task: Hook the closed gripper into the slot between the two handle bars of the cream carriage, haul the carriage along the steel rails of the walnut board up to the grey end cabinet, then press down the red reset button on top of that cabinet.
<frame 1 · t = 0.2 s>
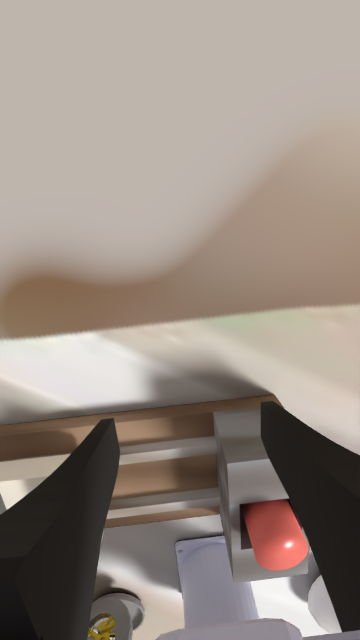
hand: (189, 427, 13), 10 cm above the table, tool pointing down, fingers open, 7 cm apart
reset button: (270, 521, 19), point 7 cm above the table, slide at 0.0 cm
carriage: (36, 526, 20), point 5 cm above the table, slide at 0.0 cm
flower in vase: (350, 573, 32), on the table
pocket watch: (116, 598, 31), on the table
rail board: (143, 462, 25), on the table
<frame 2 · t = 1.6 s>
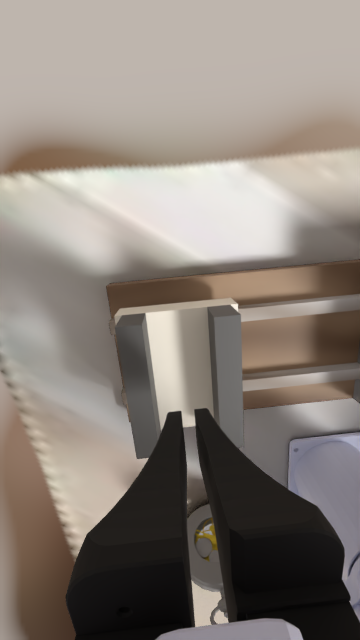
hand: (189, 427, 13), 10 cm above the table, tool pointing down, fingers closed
carriage: (182, 374, 18), point 5 cm above the table, slide at 0.0 cm
pocket watch: (213, 512, 29), on the table
rail board: (269, 337, 23), on the table
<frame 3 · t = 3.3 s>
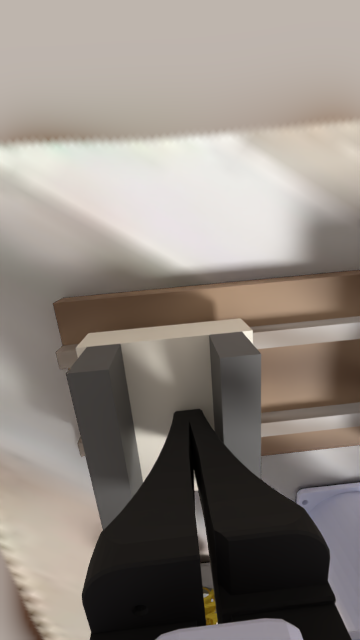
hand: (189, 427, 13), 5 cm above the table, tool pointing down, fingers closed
carriage: (174, 426, 13), point 5 cm above the table, slide at 1.0 cm, touching gripper
pocket watch: (203, 570, 23), on the table
rail board: (273, 365, 18), on the table
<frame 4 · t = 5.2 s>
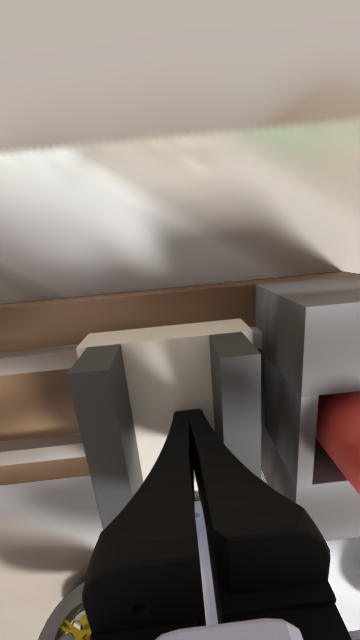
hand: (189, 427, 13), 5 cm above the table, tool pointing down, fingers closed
carriage: (174, 426, 13), point 5 cm above the table, slide at 9.8 cm, touching gripper
pocket watch: (107, 582, 23), on the table
rail board: (146, 379, 18), on the table
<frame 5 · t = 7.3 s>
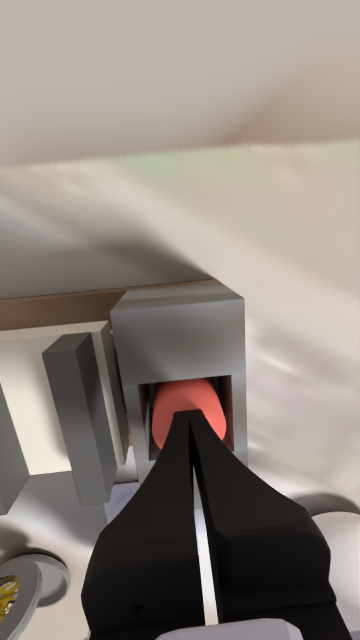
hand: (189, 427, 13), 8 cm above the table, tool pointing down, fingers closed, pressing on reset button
reset button: (186, 404, 14), point 6 cm above the table, slide at 1.1 cm, touching gripper
carriage: (43, 413, 15), point 5 cm above the table, slide at 9.8 cm
flower in vase: (326, 534, 26), on the table
pocket watch: (36, 562, 25), on the table
rail board: (49, 374, 20), on the table
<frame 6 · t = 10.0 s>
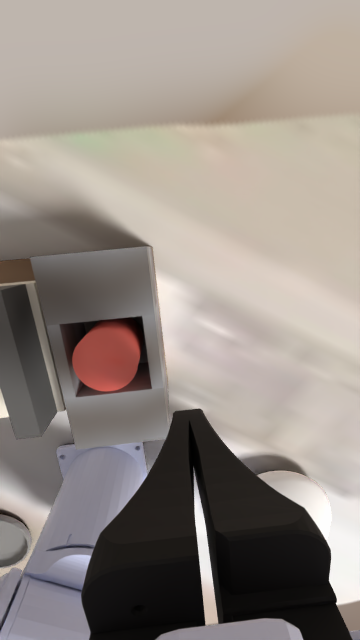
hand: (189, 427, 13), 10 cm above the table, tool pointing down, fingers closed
reset button: (112, 349, 16), point 6 cm above the table, slide at 1.2 cm
flower in vase: (274, 496, 28), on the table
rail board: (4, 336, 21), on the table
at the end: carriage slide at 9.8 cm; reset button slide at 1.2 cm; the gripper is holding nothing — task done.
